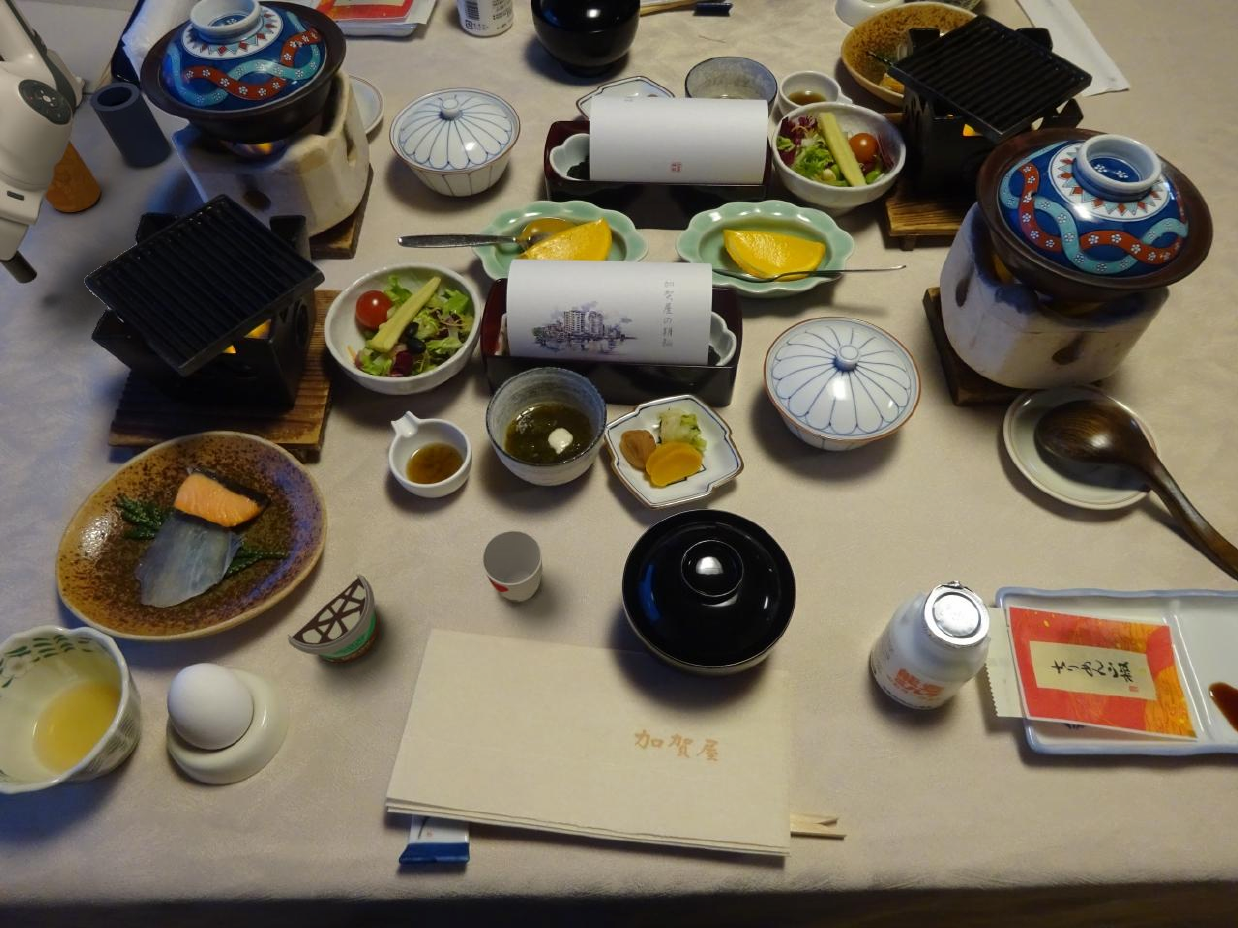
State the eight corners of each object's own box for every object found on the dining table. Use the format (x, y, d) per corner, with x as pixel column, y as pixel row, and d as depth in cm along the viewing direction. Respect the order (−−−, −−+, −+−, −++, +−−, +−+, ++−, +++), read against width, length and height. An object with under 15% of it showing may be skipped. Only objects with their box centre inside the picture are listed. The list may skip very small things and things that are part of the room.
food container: (338, 691, 107) (314, 669, 98) (309, 662, 109) (284, 638, 100) (407, 625, 112) (390, 598, 103) (378, 598, 114) (359, 570, 105)
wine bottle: (40, 209, 156) (-72, 65, 131) (72, 178, 161) (-30, 33, 135) (83, 220, 155) (-22, 76, 129) (114, 188, 160) (18, 43, 134)
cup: (482, 575, 116) (472, 546, 107) (532, 551, 118) (525, 520, 109) (506, 621, 112) (497, 595, 104) (556, 595, 114) (552, 567, 106)
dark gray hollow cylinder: (115, 157, 164) (79, 101, 153) (150, 134, 169) (117, 77, 158) (145, 173, 162) (111, 116, 151) (180, 149, 166) (149, 92, 155)
